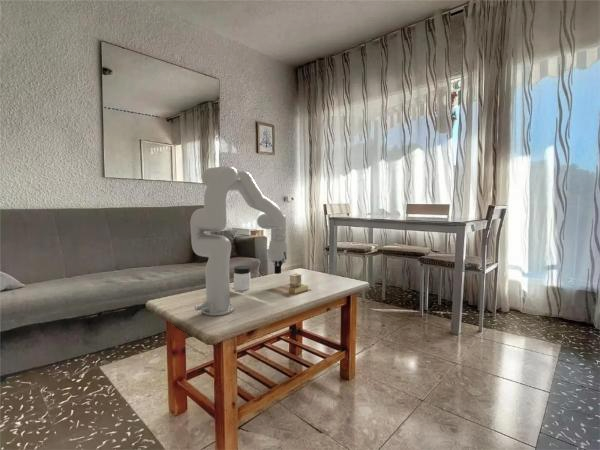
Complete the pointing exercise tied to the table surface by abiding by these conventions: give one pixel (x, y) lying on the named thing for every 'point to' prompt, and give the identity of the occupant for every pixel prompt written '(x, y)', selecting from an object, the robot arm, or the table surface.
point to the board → (284, 290)
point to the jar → (241, 278)
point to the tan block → (295, 280)
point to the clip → (298, 289)
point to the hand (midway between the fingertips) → (277, 273)
